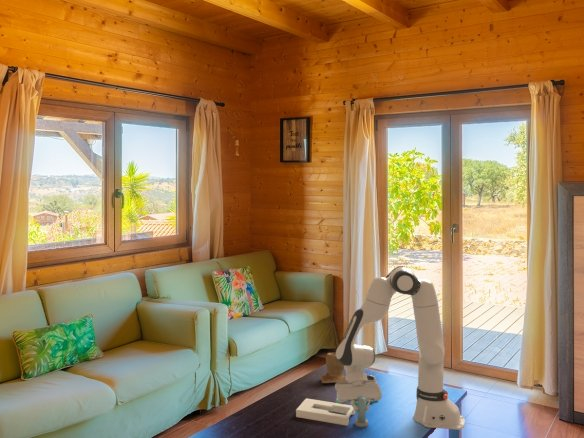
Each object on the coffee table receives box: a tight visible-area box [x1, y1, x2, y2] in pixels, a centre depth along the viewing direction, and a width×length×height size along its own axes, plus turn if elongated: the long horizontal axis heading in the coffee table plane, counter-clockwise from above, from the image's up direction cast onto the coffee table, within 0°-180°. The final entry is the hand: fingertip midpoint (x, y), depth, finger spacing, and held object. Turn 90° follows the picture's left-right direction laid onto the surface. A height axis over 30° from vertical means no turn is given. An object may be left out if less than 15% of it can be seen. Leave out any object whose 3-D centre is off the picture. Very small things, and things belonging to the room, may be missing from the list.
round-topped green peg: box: [354, 396, 369, 428], centre depth 245 cm, size 6×6×12 cm
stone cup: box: [320, 352, 346, 384], centre depth 297 cm, size 15×12×15 cm
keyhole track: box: [295, 397, 356, 426], centre depth 255 cm, size 24×14×3 cm, turn 70°
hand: (362, 410), depth 244 cm, fingers closed on round-topped green peg, 4 cm apart
